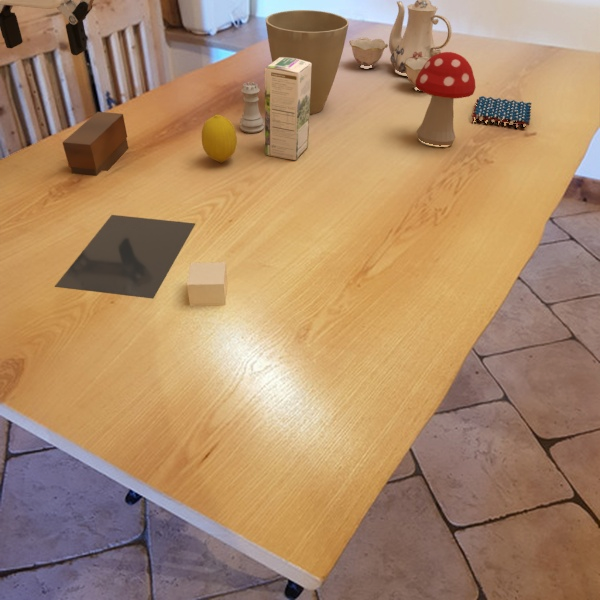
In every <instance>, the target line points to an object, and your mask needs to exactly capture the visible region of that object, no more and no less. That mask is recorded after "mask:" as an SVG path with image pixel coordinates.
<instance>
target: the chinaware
mask: <svg viewBox="0 0 600 600" xmlns="http://www.w3.org/2000/svg"><path fill="white" fill-rule="evenodd" d="M396 4H397V7H398V12H397V15H396V18H395V21H394V23H393V26H392V28H391V31H390V35H389V39H388V43H385V41H384V40H383V39H381V38H375V39H370V38H368V37H364V36H363V37H359V38H357V39H356V40H353V39H351V40H349V41H348V43H349V45H350V47H351V50H352V51H351V52H352V55H353V58H354V60H355V61H356V62H357V63H358V64H359V65H360V64H361V65H364V66H370V65H373V66H374V65H375V64H376V63H378V62H379V61H380V60H381V58H382V56H383V53H384V50H385V49H387V48H389V52H390V54H391V55H390V62H391V64H392V65H393V67H394V70H395V69H396V70H397V71H399V72H401V73H406V74H407V76H408V78H407V79H408V81H409V82H410V84H412V85H413V87H416V85H415V84H416V79H417V76H418V74H419V73H420V71H421V70H422V68H423V67H424V65H425V63H426V62H427V61H428V60H429V59H430V58H431V57H433V56H434V55H436V54H439V53H442V49H443V48H445V47H446V46H447V45H448V44H449V42H450V41H451V38H452V33H453V30H452V29H453V28H452V25H451V22H450V21H449V19H448V18H447V17H445V16H444V15H440V14H436V13H437V10H438V9H439V8H438V7H437V6H436V5H433V4H432V1H430V0H415V2H414V3H413V4H408V5H407V6H406V7H407V15H408V16H407V22H406V28H405V30H404V32H403V33H404V34H403V36H402V31H403V26H404V21H405V16H406V15H405V13H406V10H405V9H406V8H405V5H404V4H403V2H402V1H400V0H399V1H396ZM439 20H441V21H443V22H444V23H445V25H446V28H447V36H446V39H445V41H444V42H443V44H441V45H438V46H435V42H434V41H435V40H434V36H433V35H434V34H433V27H434V25H438V24H439Z"/></svg>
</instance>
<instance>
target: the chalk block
mask: <svg viewBox="0 0 600 600" xmlns="http://www.w3.org/2000/svg"><path fill="white" fill-rule="evenodd" d="M227 272H228V271H227V263H226V261H222V262H220V261H219V262H218V261H217V262H216V261H215V262H190V263H189V270H188V275H187V282H186V288H187V289H186V290H187V295H188V301H189V306H190V307H198V306H199V307H201V306H203V307H204V306H226V305H227V297H228V295H227V294H228V273H227Z"/></svg>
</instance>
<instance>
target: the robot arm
mask: <svg viewBox="0 0 600 600" xmlns="http://www.w3.org/2000/svg"><path fill="white" fill-rule="evenodd" d="M79 1H80V2H79V3H77V2H76V1H75V0H0V33H1V36H2V38H3V40H4V44H5V48H6V49H13V48H16V47H18V46H20V45H21V44H23V43H24V41H23V37H22V33H21V28H20V25H19V21H18V18H17V14H16V13H15V12H13V11H12V9H13V7H22V8H31V9H32V8H33V9H43V10H44V9H45V10H55V9H57V10H58V11H59V12H60V13H61V14H62V16H63V17H64V18H65V19H66V20H67V21H68V23H66V24H65V30H66V35H67V40H68V44H69V50H70V54H71V55H73V56H78V55H80V54H82V53H84V52H85V51H86V50H87V44H88V42H87V36H86V31H85V26H84V20H86V18H87V16H88V15H89V13H90V12H91V11H92V9H93V3H94V0H79Z"/></svg>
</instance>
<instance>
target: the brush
mask: <svg viewBox="0 0 600 600" xmlns="http://www.w3.org/2000/svg"><path fill="white" fill-rule="evenodd" d="M126 127H127V126H126V123H125V118H124V113H118V112H117V113H116V112H105V111H104V112H103V111H96V112H95V113H94V114H93V115H92V116H91V117H90V118H89V119H87V120H86V121H85V122H84V123H83V124H82V125H80V126H79V127H78V128H77V129H76V130H75V131H74V132H72V133H71V134H70V135H69V136H68V137H67V138H66V139H64V140H63V141H62V142H61V143H62V146H63V149H64V152H65V157H66V161H67V164H68V167H69V168H70V170H71V174H73V175H82V176H83V175H84V176H94V177H96V176H98V175H99V174H100V173H101V172H102V171H104V172H108V171H109V170H110V169H111V168H112V167H113V165H114V164H115V163H116V162H117V161H118V160H119V159H120V158H121V157H122V155H124V153H125V152H126V151H128V149H129V144H128V139H127V138H128V133H127V128H126Z"/></svg>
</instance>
